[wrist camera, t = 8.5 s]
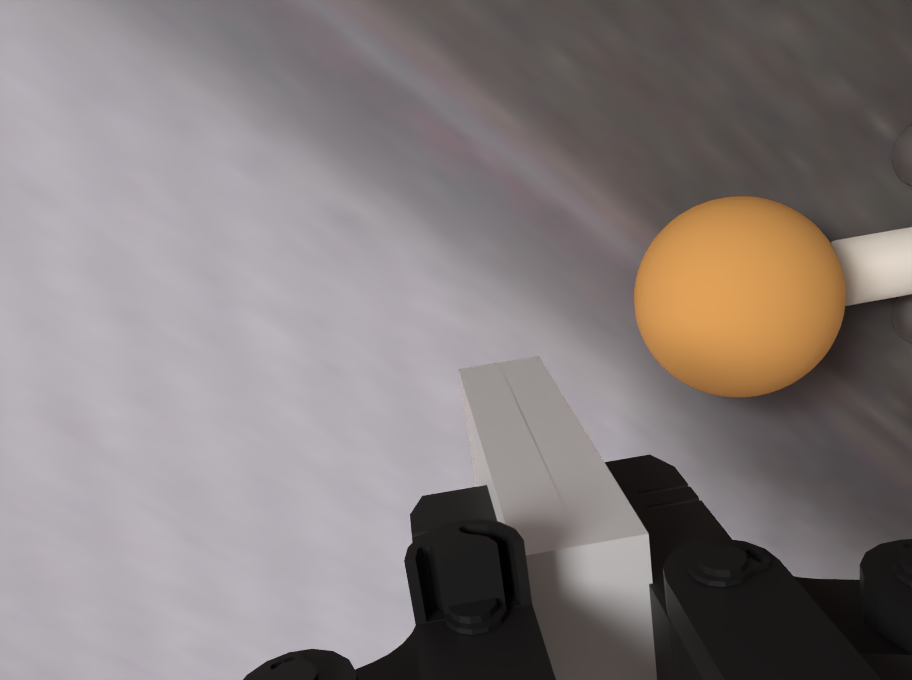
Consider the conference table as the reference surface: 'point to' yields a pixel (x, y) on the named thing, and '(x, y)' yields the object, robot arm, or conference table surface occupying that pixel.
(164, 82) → the conference table surface
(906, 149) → the pin
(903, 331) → the pin
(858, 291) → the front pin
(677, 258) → the ball
